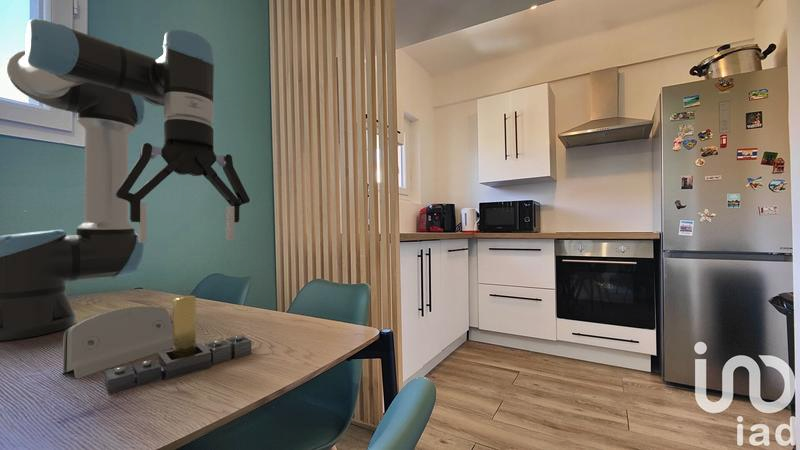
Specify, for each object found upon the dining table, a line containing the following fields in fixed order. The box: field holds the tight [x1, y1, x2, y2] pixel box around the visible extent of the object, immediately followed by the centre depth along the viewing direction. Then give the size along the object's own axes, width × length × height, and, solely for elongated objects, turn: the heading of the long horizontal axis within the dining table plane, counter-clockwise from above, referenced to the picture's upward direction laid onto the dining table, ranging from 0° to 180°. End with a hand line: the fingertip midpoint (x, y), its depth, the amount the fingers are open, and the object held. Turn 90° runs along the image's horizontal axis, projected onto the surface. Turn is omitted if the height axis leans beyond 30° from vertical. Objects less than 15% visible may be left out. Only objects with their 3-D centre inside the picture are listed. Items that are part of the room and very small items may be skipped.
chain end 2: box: [157, 334, 252, 372], centre depth 59 cm, size 6×14×3 cm, turn 135°
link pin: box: [172, 295, 197, 360], centre depth 56 cm, size 3×3×12 cm
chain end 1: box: [104, 353, 212, 395], centre depth 54 cm, size 6×13×3 cm, turn 136°
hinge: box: [62, 305, 173, 379], centre depth 62 cm, size 17×5×10 cm, turn 153°
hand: (189, 241), depth 60 cm, fingers open, 13 cm apart
